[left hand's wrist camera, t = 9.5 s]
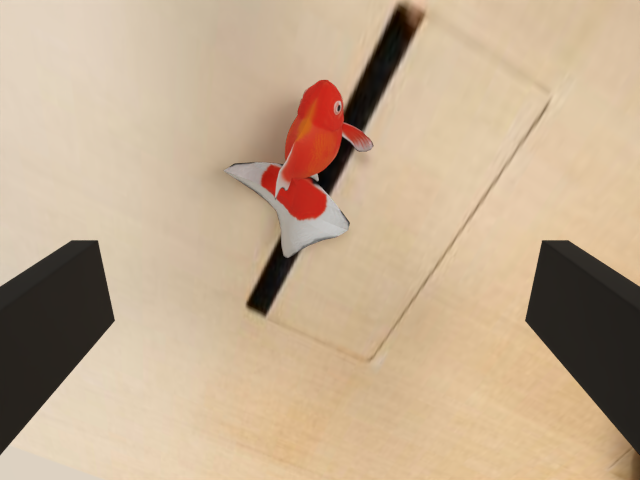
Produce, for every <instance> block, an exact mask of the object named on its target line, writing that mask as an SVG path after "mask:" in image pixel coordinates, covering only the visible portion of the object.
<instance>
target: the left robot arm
mask: <svg viewBox="0 0 640 480" xmlns="http://www.w3.org/2000/svg"><path fill="white" fill-rule="evenodd" d="M114 321H115V319H114V315H113V310H112V305H111V301H110V296H109V291H108V286H107V282H106V277H105V272H104V268H103V263H102V258H101V253H100V249H99V244H98V240H72V241H70V242H69V243H67V244H66V245H64V246H62V247H61V248H59V249H58V250H56V251H55V252H53V253H52V254H50V255H49V256H47V257H45V258H44V259H42V260H41V261H39V262H38V263H36V264H35V265H33V266H32V267H30V268H28V269H27V270H25V271H24V272H22V273H21V274H19V275H18V276H16V277H15V278H13V279H11V280H10V281H8V282H7V283H5V284H4V285H2V286H1V287H0V455H1V454H2V452H3V451H4V450H5V449H6V448H7V447H8V445H9V444H10V443H11V442H12V441H13V440H14V438H15V437H16V436H17V435H18V434H19V432H20V431H21V430H22V429H23V428H24V427H25V425H26V424H27V423H28V422H29V421H30V420H31V418H32V417H33V416H34V415H35V414H36V413H37V411H38V410H39V409H40V408H41V407H42V405H43V404H44V403H45V402H46V401H47V400H48V398H49V397H50V396H51V395H52V394H53V393H54V391H55V390H56V389H57V388H58V387H59V386H60V384H61V383H62V382H63V381H64V380H65V379H66V377H67V376H68V375H69V374H70V373H71V371H72V370H73V369H74V368H75V367H76V366H77V364H78V363H79V362H80V361H81V360H82V359H83V357H84V356H85V355H86V354H87V353H88V352H89V350H90V349H91V348H92V347H93V346H94V345H95V343H96V342H97V341H98V340H99V339H100V337H101V336H102V335H103V334H104V333H105V332H106V330H107V329H108V328H109V327H110V326H111V325H112V323H113V322H114ZM525 321H526V322H527V323H528V325H529V326H530V327H531V328H532V329H533V330H534V332H535V333H536V334H537V335H538V336H539V337H540V339H541V340H542V341H543V342H544V343H545V345H546V346H547V347H548V348H549V349H550V350H551V352H552V353H553V354H554V355H555V356H556V357H557V359H558V360H559V361H560V362H561V363H562V364H563V366H564V367H565V368H566V369H567V370H568V371H569V373H570V374H571V375H572V376H573V377H574V379H575V380H576V381H577V382H578V383H579V384H580V386H581V387H582V388H583V389H584V390H585V391H586V393H587V394H588V395H589V396H590V397H591V398H592V400H593V401H594V402H595V403H596V404H597V405H598V407H599V408H600V409H601V410H602V411H603V413H604V414H605V415H606V416H607V417H608V418H609V420H610V421H611V422H612V423H613V424H614V425H615V427H616V428H617V429H618V430H619V431H620V432H621V434H622V435H623V436H624V437H625V438H626V440H627V441H628V442H629V443H630V444H631V445H632V447H633V448H634V449H635V450H636V451H637V452H638V454H639V455H640V287H639V286H638V285H636V284H635V283H633V282H632V281H630V280H629V279H627V278H625V277H624V276H622V275H621V274H619V273H618V272H616V271H615V270H613V269H612V268H610V267H608V266H607V265H605V264H604V263H602V262H601V261H599V260H598V259H596V258H595V257H593V256H591V255H590V254H588V253H587V252H585V251H584V250H582V249H581V248H579V247H578V246H576V245H574V244H573V243H571V242H570V241H568V240H542V244H541V249H540V253H539V258H538V263H537V268H536V272H535V277H534V282H533V286H532V291H531V296H530V301H529V305H528V310H527V315H526V319H525Z"/></svg>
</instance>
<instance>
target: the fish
mask: <svg viewBox="0 0 640 480" xmlns="http://www.w3.org/2000/svg"><path fill="white" fill-rule="evenodd" d="M343 121H344V116H343V100H342V97H341V94H340V93H339V91H338V90H337V88H336V87H335V86H334V85H333V84H332V83H331V82H329V81H328V80H320V81H318V82H317V83H316V84H314V85H313V86H311V87H310V88H308V89H307V90H305V92H304V94H303V99H301V101H300V105H299V108H298V115H297V117H296V119H295V120H294V122H293V124H292V126H291V128H290V130H289V132H288V136H287V139H286V146H285V159H286V162H285V163H284V164H276V163H265V162H254V163H237V164H233V165H232V166H230V167H228V168H227V169H225V170H224V171H225V172H226V173H228V174H229V175H231V176H232V177H234V178H235V179H237V180H238V181H240V182H241V183H243V184H244V185H246V186H247V187H249V188H251V189H252V190H254V191H255V192H256V193H257V194H259V195H260V196H261V197H263V198H264V199H265V200H266V201H267V202H268V203H269V204H270V205H271V206H272V207H273V208H274V209H275V210H276V211H277V215H278V219H279V223H280V228H281V243H282V250H283V254H284V256H285V257H287V258H289V257H291V256H292V255H294V254H295V253H296V252H298V251H300V250H301V249H303V248H305V247H307V246H309V245H311V244H314V243H316V242H319V241H322V240H325V239H330V238H335V237H338V236H339V235H341V234H343V233H344V232H346V231H347V230H348V228H349V224H350V223H349V221H348V220H347V218H346V217H345V216H344V214H343V213H342V211H341V210H340V209H339V207H338V206H337V205H336V203H335V202H334V201H333V200H332V199H331V198H330V196H329V195H328V194H327V193H326V192H325V191H324V190H323V189H322V188H321V187H320V186H319V184H318V183H317V182H316V181H318V180H319V179H318V174H317V173H319V172H321V171H322V170H324V169H325V168H326V167H327V166H328V165H329V164H330V163H331V162H332V161H333V159H334V158H335V157H336V155H337V153H338V150H339V147H340V143H341V139H342V137H343V138H345V139H346V140H348V141H349V142H350V143H351V144H352V145H353V146H354V148H355V149H356V150H357V151H360V152H365V151H368V150H371V149H372V147H373V143H372V141H371V140H370V139H369V138H368V137H367V136H366V135H365V134H364V133H363V132H362V131H361V130H359V129H357V128H356V127H354V126H352V125H349V124H347V123H344V122H343ZM309 177H312V178H313V179H312V178H309ZM314 179H315V180H316V181H315V180H314Z"/></svg>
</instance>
